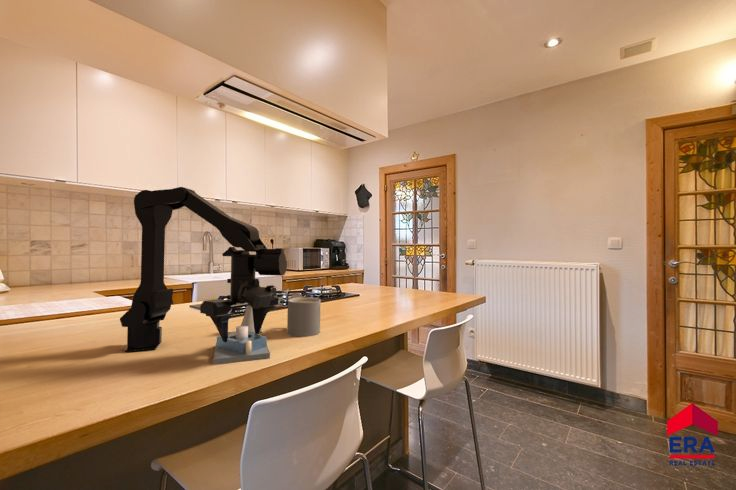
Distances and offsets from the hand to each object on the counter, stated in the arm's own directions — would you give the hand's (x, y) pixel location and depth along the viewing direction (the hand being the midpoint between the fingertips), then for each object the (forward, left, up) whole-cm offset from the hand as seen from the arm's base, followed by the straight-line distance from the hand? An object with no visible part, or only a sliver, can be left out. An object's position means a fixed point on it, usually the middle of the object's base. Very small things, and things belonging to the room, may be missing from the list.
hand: (241, 337), depth 80 cm
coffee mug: (+18, +15, -4) cm, 24 cm away
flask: (+3, +19, -4) cm, 20 cm away
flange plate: (0, 0, -2) cm, 2 cm away
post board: (0, 0, -4) cm, 4 cm away
